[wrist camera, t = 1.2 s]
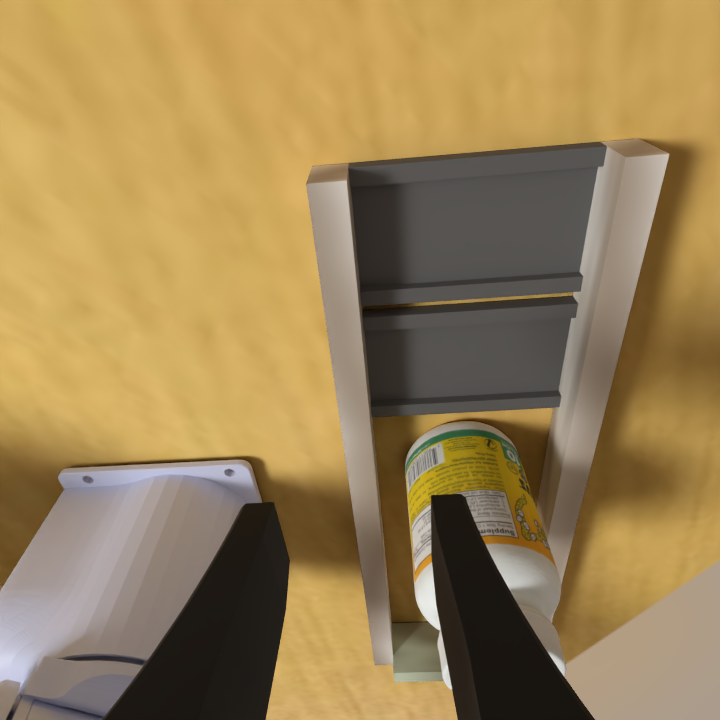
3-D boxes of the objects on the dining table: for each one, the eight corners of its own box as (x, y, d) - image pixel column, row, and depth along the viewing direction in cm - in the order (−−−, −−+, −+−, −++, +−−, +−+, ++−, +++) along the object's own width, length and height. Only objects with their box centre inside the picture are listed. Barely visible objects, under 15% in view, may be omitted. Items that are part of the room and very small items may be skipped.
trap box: (374, 633, 34) (375, 682, 31) (312, 166, 17) (302, 194, 14) (533, 628, 33) (546, 678, 31) (638, 138, 16) (687, 162, 14)
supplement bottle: (400, 421, 23) (416, 638, 15) (520, 411, 23) (601, 629, 15) (408, 499, 26) (425, 713, 18) (514, 492, 26) (578, 707, 18)
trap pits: (371, 408, 23) (371, 417, 22) (348, 163, 17) (348, 168, 16) (555, 398, 22) (559, 407, 22) (599, 141, 16) (606, 146, 16)
